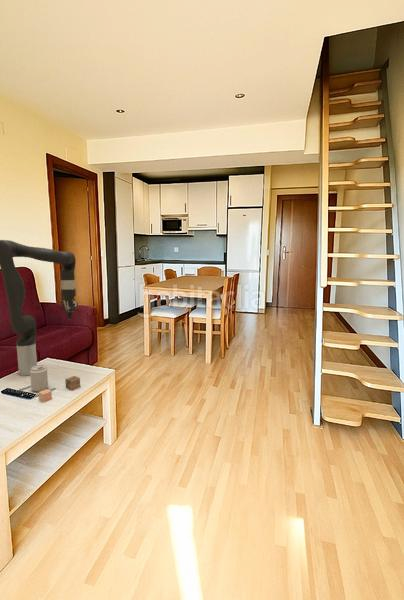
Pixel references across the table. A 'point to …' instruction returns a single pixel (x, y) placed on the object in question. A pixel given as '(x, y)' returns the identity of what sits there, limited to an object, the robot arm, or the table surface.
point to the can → (39, 378)
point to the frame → (30, 386)
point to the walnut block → (72, 382)
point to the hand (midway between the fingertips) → (70, 318)
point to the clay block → (45, 395)
